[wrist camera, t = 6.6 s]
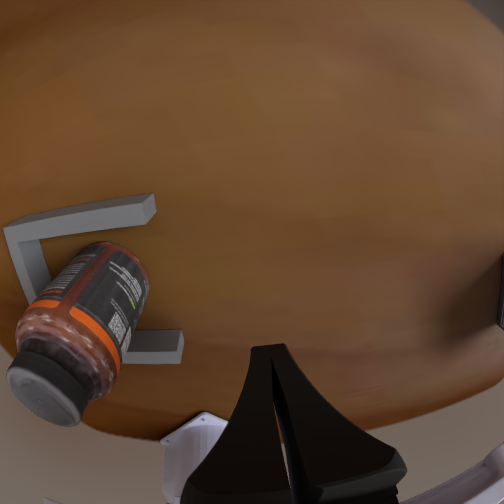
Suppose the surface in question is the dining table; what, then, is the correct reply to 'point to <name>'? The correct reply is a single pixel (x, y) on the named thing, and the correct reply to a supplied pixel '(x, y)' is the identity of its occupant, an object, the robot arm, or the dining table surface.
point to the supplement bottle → (78, 333)
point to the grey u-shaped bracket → (78, 221)
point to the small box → (501, 300)
